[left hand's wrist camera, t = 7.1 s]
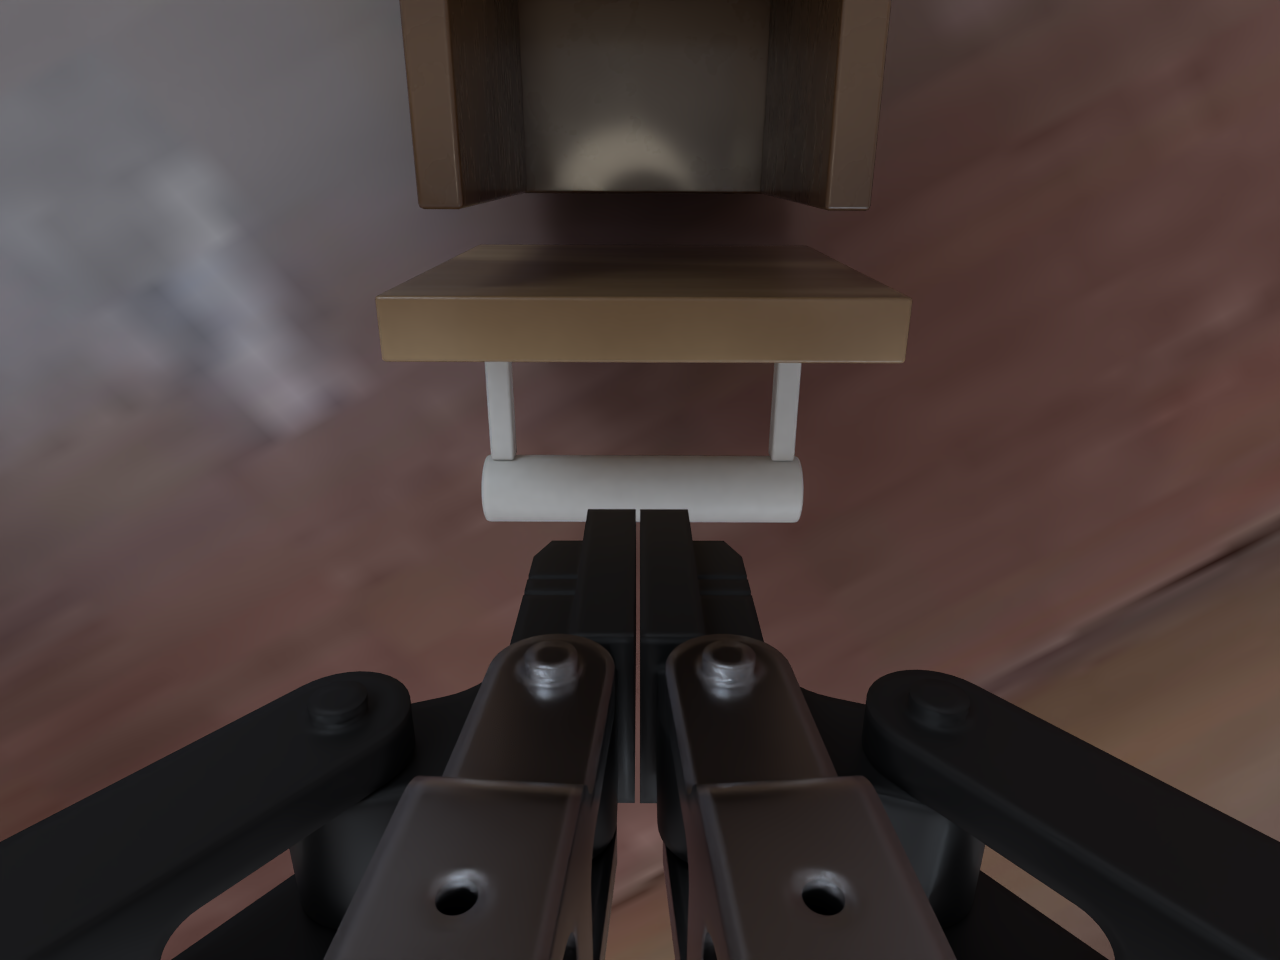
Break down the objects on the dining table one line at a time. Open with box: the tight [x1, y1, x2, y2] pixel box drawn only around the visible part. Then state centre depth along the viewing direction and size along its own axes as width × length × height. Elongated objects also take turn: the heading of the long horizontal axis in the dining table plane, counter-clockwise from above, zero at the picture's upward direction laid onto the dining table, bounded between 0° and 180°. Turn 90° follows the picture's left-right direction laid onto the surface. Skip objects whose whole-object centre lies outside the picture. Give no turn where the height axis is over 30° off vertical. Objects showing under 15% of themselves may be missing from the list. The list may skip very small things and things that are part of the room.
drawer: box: [375, 0, 912, 522], centre depth 17 cm, size 21×10×10 cm, turn 0°
